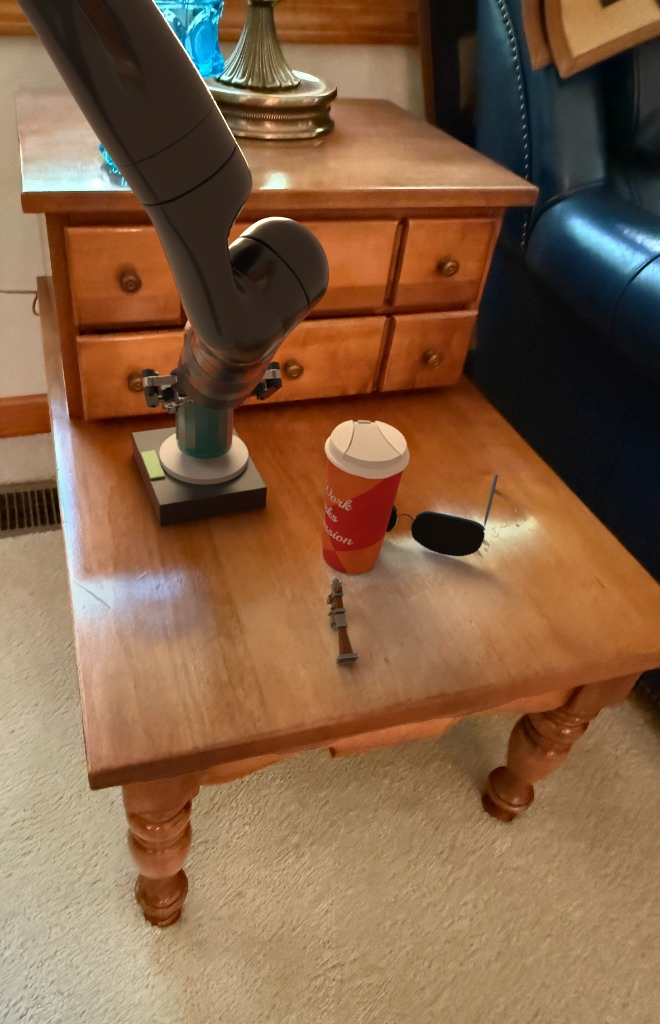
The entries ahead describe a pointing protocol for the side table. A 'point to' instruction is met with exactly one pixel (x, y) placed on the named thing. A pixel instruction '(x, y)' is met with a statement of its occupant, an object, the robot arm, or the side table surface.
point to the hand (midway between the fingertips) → (201, 402)
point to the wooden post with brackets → (340, 623)
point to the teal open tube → (204, 431)
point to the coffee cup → (360, 492)
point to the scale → (196, 479)
